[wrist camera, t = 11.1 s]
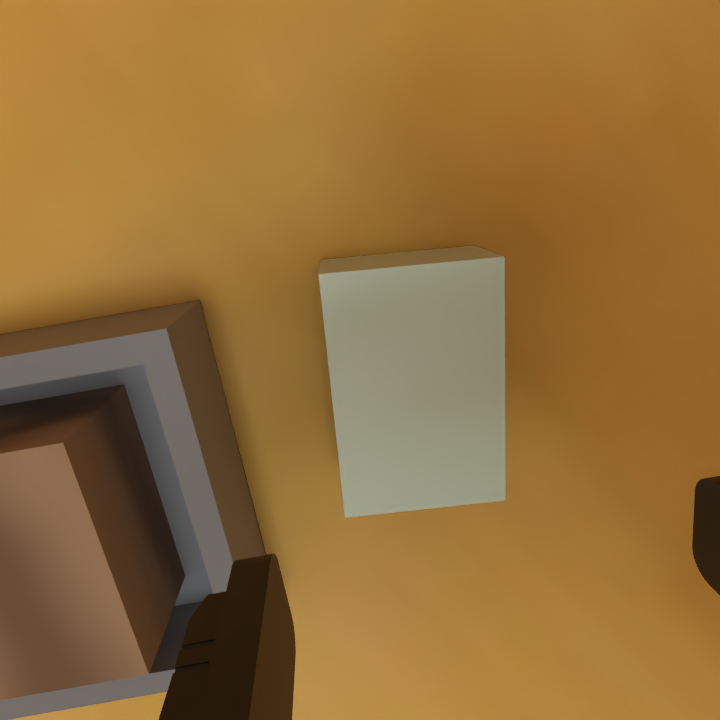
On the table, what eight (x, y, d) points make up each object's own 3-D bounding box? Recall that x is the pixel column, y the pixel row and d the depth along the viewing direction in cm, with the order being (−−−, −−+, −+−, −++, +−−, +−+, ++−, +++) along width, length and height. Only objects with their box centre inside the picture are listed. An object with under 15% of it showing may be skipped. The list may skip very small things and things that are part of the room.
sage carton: (472, 244, 21) (504, 256, 17) (477, 450, 24) (505, 500, 20) (320, 259, 21) (318, 274, 17) (342, 464, 24) (344, 517, 20)
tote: (199, 300, 21) (166, 328, 17) (275, 591, 25) (264, 674, 21) (-133, 357, 21) (-253, 401, 16) (0, 639, 25) (-67, 732, 21)
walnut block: (124, 384, 21) (62, 442, 16) (185, 575, 23) (148, 674, 19) (-31, 411, 21) (-139, 477, 16) (49, 599, 23) (-23, 704, 19)
